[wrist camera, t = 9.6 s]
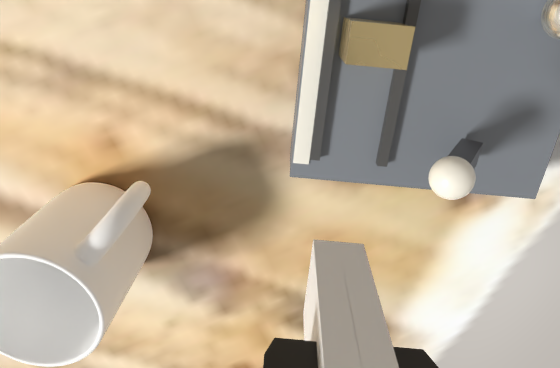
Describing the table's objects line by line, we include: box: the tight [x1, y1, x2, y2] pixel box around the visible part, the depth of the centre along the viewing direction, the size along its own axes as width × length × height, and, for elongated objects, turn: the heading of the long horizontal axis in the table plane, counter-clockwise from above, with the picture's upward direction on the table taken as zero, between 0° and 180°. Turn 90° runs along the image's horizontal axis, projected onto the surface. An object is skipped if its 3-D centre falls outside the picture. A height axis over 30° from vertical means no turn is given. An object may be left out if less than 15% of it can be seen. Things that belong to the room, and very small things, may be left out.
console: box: [290, 0, 560, 199], centre depth 25 cm, size 20×16×5 cm
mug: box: [0, 181, 153, 367], centre depth 29 cm, size 12×8×10 cm
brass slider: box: [339, 17, 415, 70], centre depth 22 cm, size 2×3×4 cm, turn 85°
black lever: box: [428, 138, 483, 200], centre depth 23 cm, size 2×2×6 cm
